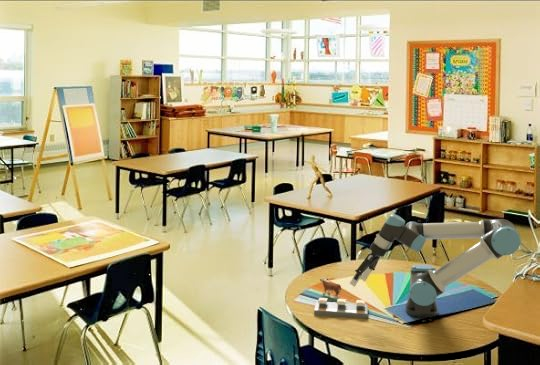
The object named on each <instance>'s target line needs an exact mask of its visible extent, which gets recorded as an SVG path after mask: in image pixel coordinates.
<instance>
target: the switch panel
mask: <svg viewBox="0 0 540 365" xmlns="http://www.w3.org/2000/svg"><path fill="white" fill-rule="evenodd" d="M368 304H369V303H368ZM368 304H367V303H365V306H356V303H352V302H351V303H347V302H346V304H345V305H338V304H337V301H336V302H335V301H334V302H333V301H332V302H331V301H327V303H326V304H323V303H318V300H317V301H316V302H315V306H314V309H313V315H314V316H315V315H317V316H327V317H329V316H330V317H331V316H332V317H344V318H358V319H359V318H360V319H368V313H369V312H368V310H369V309H368V308H369V305H368Z"/></svg>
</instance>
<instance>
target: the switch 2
mask: <svg viewBox="0 0 540 365" xmlns="http://www.w3.org/2000/svg"><path fill="white" fill-rule="evenodd" d="M355 304H356V306H365V304H366V301H365V299H362V300H361V299H356V302H355Z"/></svg>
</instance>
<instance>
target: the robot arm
mask: <svg viewBox="0 0 540 365" xmlns="http://www.w3.org/2000/svg"><path fill="white" fill-rule="evenodd" d="M375 236H376V237H375V238H374V241H372V243H371V245H370V246H369V249H370V251H371V253H368V254H367V255H366V257H365V258H364V260H363V261H362V262H361V264H360V265H359V266H358V268H356V269H355V270H354V272H355V274H354V276H353V277H352V278H351V280H350V282H349V284H350V285H351V286H352V287H356V286H357V283H358V282H359V281H360V280H362V281H363V282H366V281H367V279H368V277H369V276H370V274H371V273H372V272H373V271H375V270H376V266H377V264H378V262H379V260H380V258H381V257H384V256H385V255H386V254H387V252H388V250H389V249H390V248H391V246H392V244H393V243H394V241H395V240H396V241H397V242H399V243H401V244H402V245H404V246H406V247H407V248H409V249H410V250H412V251H414V252H416V253H418V252H421V250H422V249H423V247H424V245H425V243H426V241H427V240H464V239H465V240H466V239H467V240H468V239H469V240H470V239H472V240H473V239H480V240H479V241H478V242H476V243H475V244H474V245H472V246H471V247H469V248H468V249H466V250H465V251H463V252H461V253H460V254H458V255H457V256H455V257H454V258H452V259H450V260H449V261H447V262H446V263H444V264H443V265H441V266H439V267H438V268H436V267H435V266H433V265H430V264H418V263H417V264H413V265H412V266H411V267H410V281H409V289H408V293H409V296H408V298H407V301H406V303H405V310H406V311H405V312H406V314H408V313H409V314H408V315H410V314H411V315H410V316H412V315H413V316H412V317H415V316H417V317H416V318H420V317H430V318H434V317H436V316H438V313H439V307H438V303H437V301H436V300H437V297H439V296H440V295H442V294H443V293H445V292H446V288H447V287H448V286H450V285H452V284H453V283H455V282H456V281H458V280H459V279H461V278H463V277H464V276H466V275H467V274H469V273H470V272H472V271H473V270H476V269H477V268H479V267H480V266H482V265H483V264H485V263H487V262H488V261H490V260H491V259H495V260H499V259H500V258H502V257H503V256H510V255H513V254H514V253H516V252H517V251H518V250H519V248H520V246H521V242H522V241H521V235H520V232H519V231H518V230H517V228H516V226H515V225H514V223H513V222H511V221H509V220H508V219H504V218H503V219H502V218H494V219H493V218H492V219H491V218H490V219H481V220H480V221H467V222H466V221H464V222H461V221H460V222H458V221H457V222H430V223H429V222H428V223H427V222H426V223H425V222H424V223H419V222H416V221H409V222H407V223H406V220H405V219H403V217H401V216H400V215H398V214H394V213H391V214H389V215H388V217H387V219H386V220H385V222H384V223H383V225H382V227H381V228H380V230H379V232H378V233H376V234H375ZM433 316H434V317H433Z"/></svg>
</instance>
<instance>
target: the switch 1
mask: <svg viewBox="0 0 540 365" xmlns="http://www.w3.org/2000/svg"><path fill="white" fill-rule="evenodd" d="M328 299H329V298H328V297H319V298H318V300H317V301H318V303H323V304H326V303H327V302H329V301H328Z"/></svg>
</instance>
